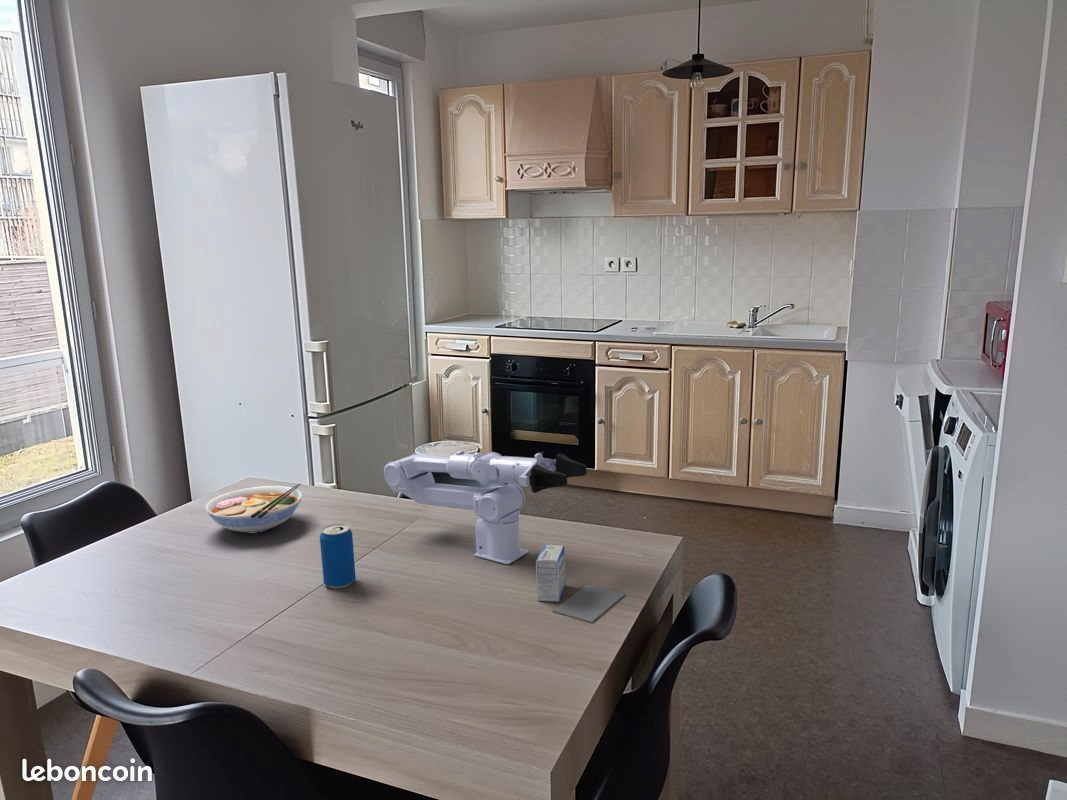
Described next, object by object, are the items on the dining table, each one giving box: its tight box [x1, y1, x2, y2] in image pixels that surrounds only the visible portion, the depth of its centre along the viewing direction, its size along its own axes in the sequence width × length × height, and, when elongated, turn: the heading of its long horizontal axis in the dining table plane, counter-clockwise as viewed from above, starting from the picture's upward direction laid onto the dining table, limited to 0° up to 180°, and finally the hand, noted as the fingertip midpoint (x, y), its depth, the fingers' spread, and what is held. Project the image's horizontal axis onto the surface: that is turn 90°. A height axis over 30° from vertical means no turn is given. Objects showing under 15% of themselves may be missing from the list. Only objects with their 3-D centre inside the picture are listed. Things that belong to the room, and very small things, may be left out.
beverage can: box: [319, 523, 357, 590], centre depth 158 cm, size 6×6×12 cm
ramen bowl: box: [204, 483, 303, 533], centre depth 190 cm, size 25×23×8 cm
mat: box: [552, 583, 625, 624], centre depth 148 cm, size 8×13×1 cm, turn 146°
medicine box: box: [535, 544, 566, 603], centre depth 151 cm, size 8×4×9 cm, turn 168°
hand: (576, 475), depth 156 cm, fingers open, 7 cm apart
